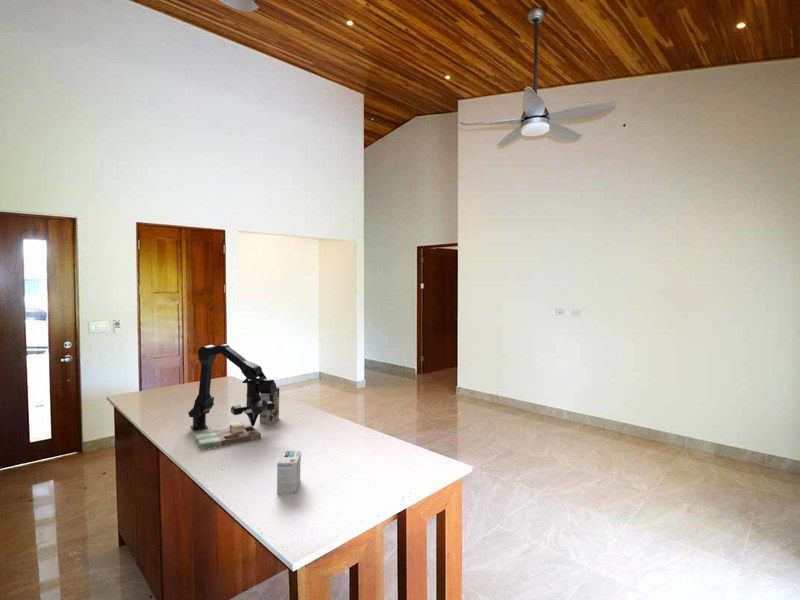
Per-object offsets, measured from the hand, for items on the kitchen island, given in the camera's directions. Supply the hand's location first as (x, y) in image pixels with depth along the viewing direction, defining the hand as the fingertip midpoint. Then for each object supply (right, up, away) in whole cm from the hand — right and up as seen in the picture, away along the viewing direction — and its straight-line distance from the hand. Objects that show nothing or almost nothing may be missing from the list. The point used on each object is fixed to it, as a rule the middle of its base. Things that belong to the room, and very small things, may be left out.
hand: (252, 426), depth 208 cm
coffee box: (+2, -3, +19) cm, 20 cm away
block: (-6, -1, -4) cm, 7 cm away
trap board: (-9, -4, -8) cm, 12 cm away
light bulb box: (+30, -7, -52) cm, 60 cm away
